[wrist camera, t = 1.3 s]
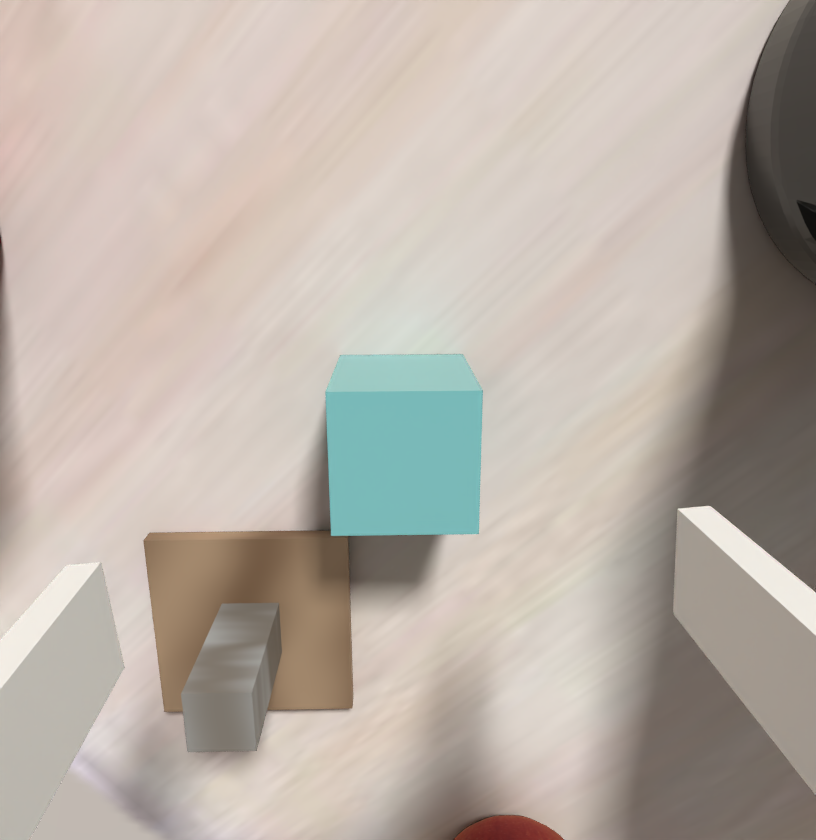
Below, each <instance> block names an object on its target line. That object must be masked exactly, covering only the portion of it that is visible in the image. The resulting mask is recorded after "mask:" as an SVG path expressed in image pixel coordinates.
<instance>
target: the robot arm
mask: <svg viewBox="0 0 816 840" xmlns="http://www.w3.org/2000/svg"><path fill="white" fill-rule="evenodd" d="M746 160H747V168H748V176H749V181H750V186H751V190H752V194H753V197H754V201H755V204H756V207H757V209H758V212H759V215H760V217H761V219H762V221H763V223H764V226H765V228H766V229H767V231H768V233H769V235H770V237H771V238H772V240H773V241H774V243H775V244H776V246H777V247H778V249H779V250H780V251H781V252H782V254H783V255H784V256H785V257H786V259H787V260H788V261H789V262H790V263H791V264H792V265H793V266H794V267H795V268H796V269H797V270H798V271H799V272H801V273H802V274H803V275H804V276H805V277H807V278H808V279H809V280H811V281H812V282H814V283H815V284H816V0H790V1H789V3H788V4H787V6H786V7H785V9H784V11H783V12H782V14H781V16H780V17H779V19H778V21H777V23H776V25H775V27H774V29H773V31H772V33H771V35H770V37H769V40H768V42H767V44H766V46H765V49H764V51H763V54H762V57H761V60H760V62H759V65H758V68H757V72H756V75H755V78H754V82H753V86H752V91H751V95H750V101H749V107H748V113H747V124H746ZM673 614H674V616H675V617H676V618H677V619H678V621H679V622H680V623H681V624H682V626H683V627H684V628H685V630H686V631H687V632H688V633H689V635H690V636H691V637H692V638H693V640H694V641H695V642H696V644H697V645H698V646H699V647H700V649H701V650H702V651H703V653H704V654H705V655H706V656H707V658H708V659H709V660H710V661H711V663H712V664H713V665H714V667H715V668H716V669H717V670H718V672H719V673H720V674H721V675H722V677H723V678H724V679H725V681H726V682H727V683H728V684H729V686H730V687H731V688H732V689H733V691H734V692H735V693H736V695H737V696H738V697H739V698H740V700H741V701H742V702H743V704H744V705H745V706H746V707H747V709H748V710H749V711H750V712H751V714H752V715H753V716H754V718H755V719H756V720H757V721H758V723H759V724H760V725H761V726H762V728H763V729H764V730H765V732H766V733H767V734H768V735H769V737H770V738H771V739H772V740H773V742H774V743H775V744H776V746H777V747H778V748H779V749H780V751H781V752H782V753H783V755H784V756H785V757H786V758H787V760H788V761H789V762H790V763H791V765H792V766H793V767H794V769H795V770H796V771H797V772H798V774H799V775H800V776H801V777H802V779H803V780H804V781H805V783H806V784H807V785H808V786H809V788H810V789H811V790H812V791H813V793H814V794H815V795H816V592H814V591H813V590H812V589H811V588H810V587H808V586H807V585H806V584H805V583H804V582H802V581H801V580H800V579H799V578H797V577H796V576H795V575H794V574H793V573H791V572H790V571H789V570H788V569H786V568H785V567H784V566H783V565H782V564H780V563H779V562H778V561H777V560H776V559H774V558H773V557H772V556H771V555H769V554H768V553H767V552H766V551H765V550H763V549H762V548H761V547H760V546H758V545H757V544H756V543H755V542H754V541H752V540H751V539H750V538H749V537H748V536H746V535H745V534H744V533H743V532H741V531H740V530H739V529H738V528H737V527H735V526H734V525H733V524H732V523H730V522H729V521H728V520H727V519H726V518H724V517H723V516H722V515H721V514H720V513H718V512H717V511H716V510H715V509H713V508H712V507H711V506H702V507H691V508H680V509H677V532H676V555H675V579H674V603H673ZM124 668H125V667H124V662H123V658H122V653H121V649H120V644H119V640H118V635H117V631H116V627H115V622H114V618H113V613H112V609H111V604H110V600H109V595H108V591H107V586H106V582H105V577H104V573H103V568H102V564H101V562H96V563H85V564H74V565H66V566H65V567H64V568H63V570H62V571H61V572H60V573H59V574H58V575H57V576H56V577H55V579H54V580H53V581H52V582H51V583H50V584H49V585H48V587H47V588H46V589H45V590H44V591H43V592H42V593H41V594H40V596H39V597H38V598H37V599H36V600H35V601H34V602H33V603H32V605H31V606H30V607H29V608H28V609H27V610H26V611H25V612H24V614H23V615H22V616H21V617H20V618H19V619H18V620H17V622H16V623H15V624H14V625H13V626H12V627H11V628H10V629H9V631H8V632H7V633H6V634H5V635H4V636H3V637H2V638H1V640H0V840H30V838H31V837H32V835H33V833H34V831H35V829H36V828H37V826H38V824H39V822H40V820H41V819H42V816H43V815H44V813H45V811H46V809H47V808H48V806H49V804H50V802H51V800H52V798H53V796H54V795H55V793H56V791H57V789H58V787H59V786H60V784H61V782H62V780H63V778H64V777H65V775H66V773H67V771H68V769H69V768H70V766H71V764H72V762H73V760H74V758H75V757H76V755H77V753H78V751H79V749H80V748H81V746H82V744H83V742H84V740H85V738H86V737H87V735H88V733H89V731H90V729H91V728H92V726H93V724H94V722H95V720H96V718H97V717H98V715H99V713H100V711H101V709H102V708H103V706H104V704H105V702H106V700H107V698H108V697H109V695H110V693H111V691H112V689H113V688H114V686H115V684H116V682H117V680H118V678H119V677H120V675H121V673H122V671H123V669H124Z"/></svg>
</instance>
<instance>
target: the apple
mask: <svg viewBox="0 0 816 840" xmlns="http://www.w3.org/2000/svg"><path fill="white" fill-rule="evenodd" d="M454 840H564V839H563V838H562V837H561V836H560V835H559V834H557V833H556V832H555V831H554V830H552V829H550V828H549V827H547V826H545V825H543V824H541V823H539V822H537V821H535V820H533V819H530V818H528V817H523V816H516V815H500V816H493V817H489V818H486V819H483V820H481V821H479V822H477V823H475V824H473V825H471V826H469V827H467V828H466V829H464V830H463V831H462V832H461V833H459V834H458V835H457V836H456V837H455V838H454Z"/></svg>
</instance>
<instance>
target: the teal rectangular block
mask: <svg viewBox="0 0 816 840" xmlns="http://www.w3.org/2000/svg"><path fill="white" fill-rule="evenodd" d="M482 397H483V390H482V388H481V387H480V385H479V383H478V381H477V379H476V377H475V376H474V374H473V372H472V370H471V368H470V366H469V365H468V363H467V361H466V359H465V357H464V356H463V354H434V355H340V357H339V360H338V362H337V365H336V367H335V370H334V372H333V375H332V377H331V380H330V382H329V385H328V387H327V390H326V418H327V444H328V470H329V496H330V522H331V536H364V535H441V534H479V506H480V470H481V434H482Z"/></svg>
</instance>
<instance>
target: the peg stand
mask: <svg viewBox="0 0 816 840" xmlns="http://www.w3.org/2000/svg"><path fill="white" fill-rule="evenodd" d="M144 549H145V557H146V565H147V574H148V582H149V590H150V598H151V606H152V614H153V623H154V631H155V639H156V647H157V655H158V663H159V672H160V680H161V688H162V696H163V704H164V712H180V711H183V716H184V725H185V734H186V742H187V751H188V752H221V751H257V747H258V743H259V739H260V735H261V731H262V727H263V724H264V720H265V716H266V712H267V710H290V709H345V708H352V706H353V673H352V641H351V608H350V576H349V543H348V536H331V531H253V532H175V533H149V534H148V536H147V537H146V538H145V539H144Z"/></svg>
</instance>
